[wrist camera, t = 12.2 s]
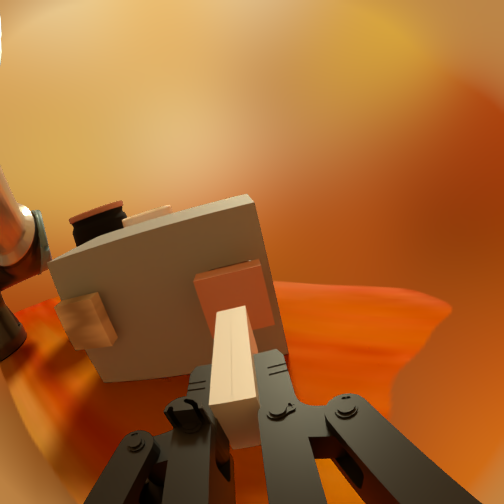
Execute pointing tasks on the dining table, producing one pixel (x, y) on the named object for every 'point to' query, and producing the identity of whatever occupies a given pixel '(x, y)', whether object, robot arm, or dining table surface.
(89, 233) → the coffee jar
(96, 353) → the wall block
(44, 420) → the dining table surface
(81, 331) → the pale plunger
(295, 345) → the dining table surface
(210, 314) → the terracotta plunger
